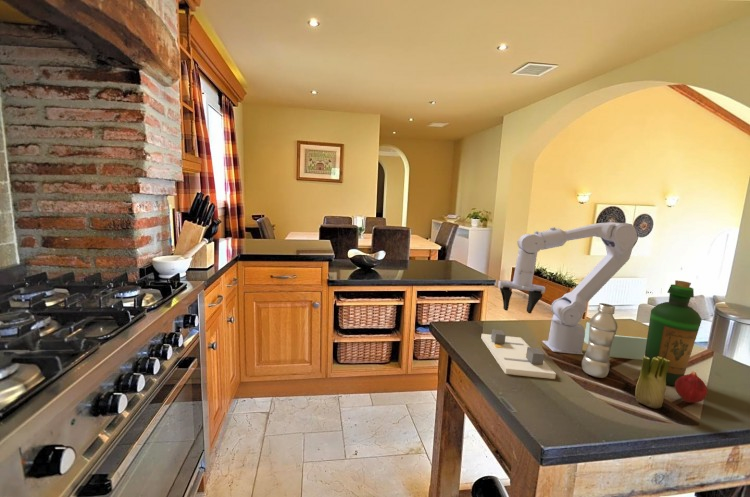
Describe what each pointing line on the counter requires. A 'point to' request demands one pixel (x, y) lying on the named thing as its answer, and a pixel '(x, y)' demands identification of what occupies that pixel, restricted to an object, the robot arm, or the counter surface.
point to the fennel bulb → (652, 382)
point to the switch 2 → (535, 355)
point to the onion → (691, 388)
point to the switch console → (516, 358)
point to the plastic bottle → (600, 341)
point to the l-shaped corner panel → (624, 346)
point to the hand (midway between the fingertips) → (517, 311)
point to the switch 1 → (498, 336)
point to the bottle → (673, 330)
